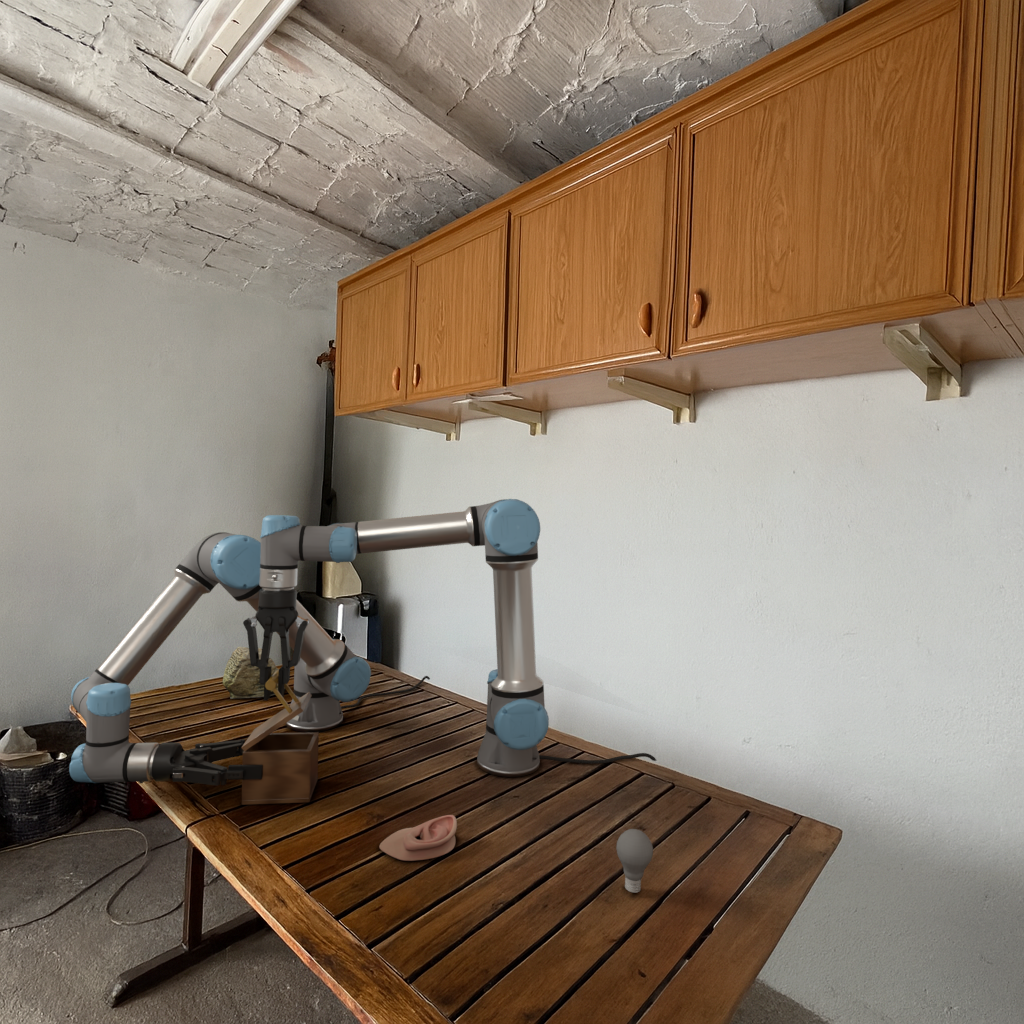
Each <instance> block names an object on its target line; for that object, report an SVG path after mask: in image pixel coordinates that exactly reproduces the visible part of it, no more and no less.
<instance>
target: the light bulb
mask: <svg viewBox="0 0 1024 1024" xmlns="http://www.w3.org/2000/svg"><path fill="white" fill-rule="evenodd" d="M615 849H616V854H617V857H618V859H619V861H620V863H621V865H622V867H623V873H624V874H623V875H624V876H625V878H624V888H625V890H627V891H628V892H630V893H634V894H635V893H639V892H640V891H641V889H642V887H641V886H642V879H643V877H644V875H645V871H646V868H647V867H648V866H649V864H650V863H651V861H652V859H653V855H654V847H653V843H652V841H651V838H649V836H648V835H647V834H646V833H645V832H643V831H642V830H641V829H636V828H629V829H627V830H625V831H623V832H622V833H621V834H620V835H619V837H618V839H617V841H616V847H615Z"/></svg>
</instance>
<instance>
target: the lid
mask: <svg viewBox="0 0 1024 1024" xmlns="http://www.w3.org/2000/svg"><path fill="white" fill-rule="evenodd" d="M278 676H279V670H277V671H275V673H274V674H273V675H272V676H271V677H270V679H269V680H268V681H267V682H266V684H265V687H266V689H267V690H272V691H273V692H274V693H275V695H274V696H275V697H276V698H277V700H278V699H279V700H280V701H279V702H280V703H281V704H282V706H283V707H284V708H283V709H282V710H280V711H279V712H277V713H276V714H274V715H273V716H272V717H270V718H268V719H266V721H265V722H263V723H261V724H260V725H258V726H257V727H255V728H254V729H253V731H251V733H250V734H249V736H248V737H247V739H245V743H244V745H243V746H242V747H241V748H242V749H243V750H244V751H246V750H247V749H249V748H250V747H252V746H253V745H255V744H256V743H258V742H259V741H260V740H262V739H263V738H265V737H266V736H268V735H269V734H271V733H275V731H276V730H278V729H280V728H281V727H283V726H284V725H286V723H287V722H288V721H290V720H291V719H293V718H294V717H295V716H297V715H298V714H300V713H301V712H303V711H304V709H305V707H306V705H307V703H308V702H309V700H310V698H311V696H312V695H311V694H310V692H308V693H307V694H305V695H304V696H302V697H301V698H299V699H298V698H297V697H296V695H295V694H294V690H292V688H291V687H290V686H289V684H284V687H285V689H286V690H285V691H286V692H287V693H288V695H289V696H290V698H292V699H293V700H294V701H295V702H293V703H292V704H291V703H290V704H288V703H289V702H288V701H286V700H285V697H282V695H281V694H280V692H279V691H278V690H277V688H276V686H277V685H278V682H279V681H278Z"/></svg>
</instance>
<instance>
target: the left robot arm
mask: <svg viewBox="0 0 1024 1024" xmlns="http://www.w3.org/2000/svg"><path fill="white" fill-rule="evenodd" d="M260 556H261V541H260V540H259V539H258V540H257V539H256V538H254V537H251V536H249V535H245V534H235V533H231V532H227V531H226V532H224V531H222V532H221V531H219V532H214V533H211V534H208V535H206V536H204V537H203V538H201V540H199V541H198V542H197V543H196V544H195V545H194V546H193V547H192V548H191V549H190V550H189V552H188V553H187V554H186V555H185V556H184V557H183V559H182V560H181V561H180V562H179V563H178V565H176V567H175V568H174V570H173V572H174V576H173V578H172V579H171V580H170V581H169V582H168V584H166V585H165V587H164V589H162V591H161V592H160V593H159V594H158V595H157V597H156V598H155V599H154V600H153V602H152V603H151V604H150V605H149V606H148V608H146V610H145V611H144V612H143V613H142V614H141V616H140V617H139V618H138V619H137V620H136V621H135V623H134V624H133V625H132V626H131V628H130V629H129V630H128V631H127V632H126V633H125V635H124V636H123V637H122V638H121V639H120V641H119V642H117V644H116V645H115V646H114V648H113V649H112V650H111V651H110V652H109V654H108V655H107V656H106V657H105V658H104V660H103V661H102V662H101V663H100V664H99V665H98V667H97V668H96V669H95V670H94V671H93V672H92V673H91V674H90V676H87V677H85V678H83V679H80V680H79V681H77V683H76V684H75V685H74V686H73V687H72V690H71V691H70V692H71V693H70V700H71V704H72V706H73V708H74V710H75V711H76V712H77V713H78V714H79V715H80V717H81V718H82V719H83V720H84V721H85V724H86V726H85V727H86V728H85V729H86V730H85V731H86V733H85V735H86V736H85V742H84V743H82V744H80V745H78V746H77V747H76V748H75V749H74V751H73V753H72V754H71V759H70V760H71V761H70V763H69V769H68V770H69V776H70V778H71V779H72V780H73V781H74V782H77V783H91V784H92V783H93V784H101V783H139V784H144V783H145V782H153V781H155V782H156V783H157V782H161V783H162V782H164V783H165V782H173V783H180V782H181V783H183V782H185V783H192V784H200V785H208V786H215V787H216V786H218V787H219V786H226V785H227V783H228V781H235V780H241V781H242V780H247V779H262V775H263V765H242V764H229V765H228V767H226V766H223V765H219V764H216V763H214V762H217V761H222V760H228V759H232V758H237V757H243V752H244V750H243V749H242V748H241V747H242V746H243V745H244V743H245V742H246V739H245V738H244V739H243V738H241V739H235V740H234V739H233V740H227V741H217V742H208V743H205V742H203V743H201V742H200V743H195V744H194V748H190V749H188V750H187V749H186V750H185V749H184V748H183V745H182V744H181V743H180V742H162V743H159V742H130V741H129V740H130V721H131V705H132V699H131V688H130V686H129V685H130V684H131V683H132V682H133V680H134V679H135V678H136V677H137V675H139V673H140V672H141V670H142V669H143V668H144V667H145V665H147V664H148V662H149V661H150V659H151V658H152V657H153V656H154V655H155V653H156V652H157V651H158V650H159V649H160V648H161V646H162V645H163V643H164V642H165V641H166V640H167V639H168V637H169V636H170V635H171V634H172V633H173V632H174V630H175V629H176V628H177V627H178V625H179V624H180V623H181V622H182V620H183V619H185V617H186V615H187V614H188V613H189V612H190V611H191V609H192V608H193V607H194V606H195V605H196V603H197V602H198V601H199V600H200V599H201V597H202V596H203V595H206V594H210V593H211V592H212V591H213V589H214V588H215V587H216V586H217V585H218V584H220V586H221V587H222V588H223V589H224V590H225V591H226V592H227V593H228V594H229V595H230V596H231V597H232V598H233V599H234V600H235V601H236V602H240V603H241V602H246V603H248V605H249V606H250V607H251V608H252V609H253V610H254V611H255V613H257V611H258V603H259V590H260V589H262V587H260V586H259V577H260ZM296 610H297V612H298V616H300V617H302V618H303V619H308V620H309V624H308V626H307V627H306V629H305V633H304V639H303V644H302V650H301V655H300V661H299V663H298V664H297V665H296V666H293V667H294V672H293V693H294V694H295V695H296V697H297V698H298V699H299V698H301V697H302V696H304V695H305V694H307V693H308V692H310V694H311V695H312V696H311V698H310V700H309V702H308V703H307V705H306V707H305V709H304V711H303V712H301V713H300V714H298V715H297V716H295V717H294V718H293V719H291V720H290V721H288V722H287V723H285V726H286V728H287V729H289V730H291V731H294V732H295V731H296V732H300V733H309V732H325V731H329V730H332V729H335V728H337V727H339V726H340V725H342V723H343V722H344V714H343V710H344V709H352V708H356V707H358V706H359V705H360V703H361V701H362V700H364V699H367V698H371V697H382V696H388V695H396V694H403V693H408V692H411V691H414V690H415V689H417V688H418V687H419V686H420V685H421V684H423V682H424V681H425V680H426V679H427V680H429V681H430V680H431V678H430V676H428V675H424V676H423V678H421V680H420V681H419V682H417V683H416V684H415V685H414V686H412V687H409V688H407V689H401V690H393V691H387V692H377V693H370V694H365V695H363V694H364V693H365V692H366V690H367V689H368V687H369V685H370V682H371V676H372V670H371V666H370V664H369V662H368V661H366V660H365V658H362V657H361V656H357V655H356V654H355V653H354V652H353V651H352V650H351V649H350V647H348V646H347V644H346V643H345V642H344V641H343V640H342V639H338V638H332V637H331V636H330V635H329V634H328V632H327V631H326V630H325V629H324V628H323V627H322V626H321V625H320V624H319V623H318V621H317V620H316V619H315V618H314V617H313V616H312V615H311V614H310V612H309V611H308V610H307V609H306V608H305V607H304V606H303V604H302V603H301V602H300V601H299V600H298V599H297V598H296ZM296 625H297V622H296V621H295V622H294V623H293V624H292V626H291V627H290V628H289V647H290V649H291V650H292V651H294V646H295V641H296V635H297V631H298V629H299V628H297V626H296ZM276 634H277V635H279V637H280V634H279V633H278V632H276ZM362 695H363V696H362ZM357 699H358V700H357ZM356 700H357V702H356V703H353V704H346V705H341V702H343V703H350V702H353V701H356ZM293 702H295V701H294V700H293V698H292V699H291V702H290V704H292V703H293Z"/></svg>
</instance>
